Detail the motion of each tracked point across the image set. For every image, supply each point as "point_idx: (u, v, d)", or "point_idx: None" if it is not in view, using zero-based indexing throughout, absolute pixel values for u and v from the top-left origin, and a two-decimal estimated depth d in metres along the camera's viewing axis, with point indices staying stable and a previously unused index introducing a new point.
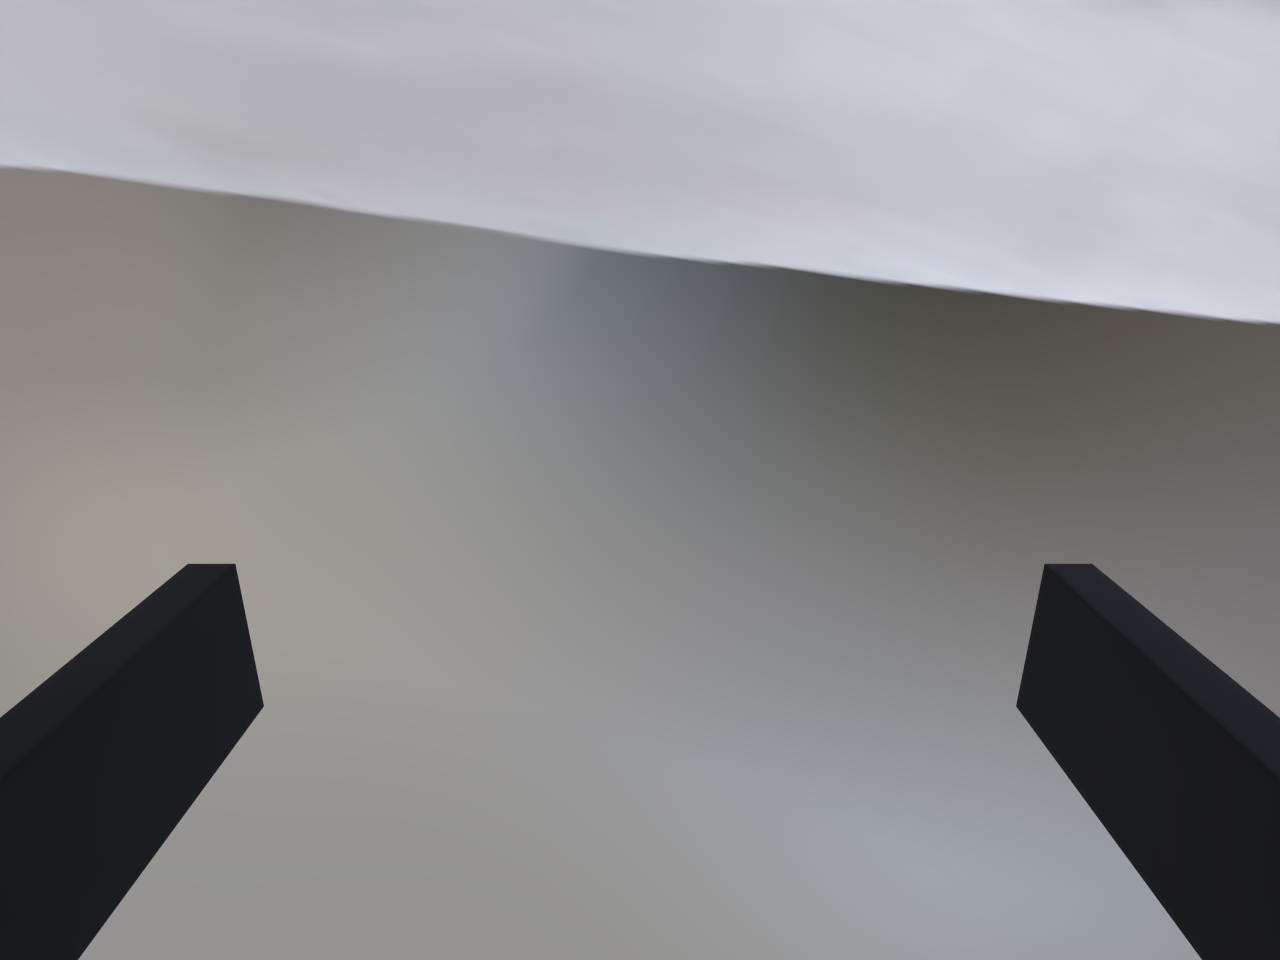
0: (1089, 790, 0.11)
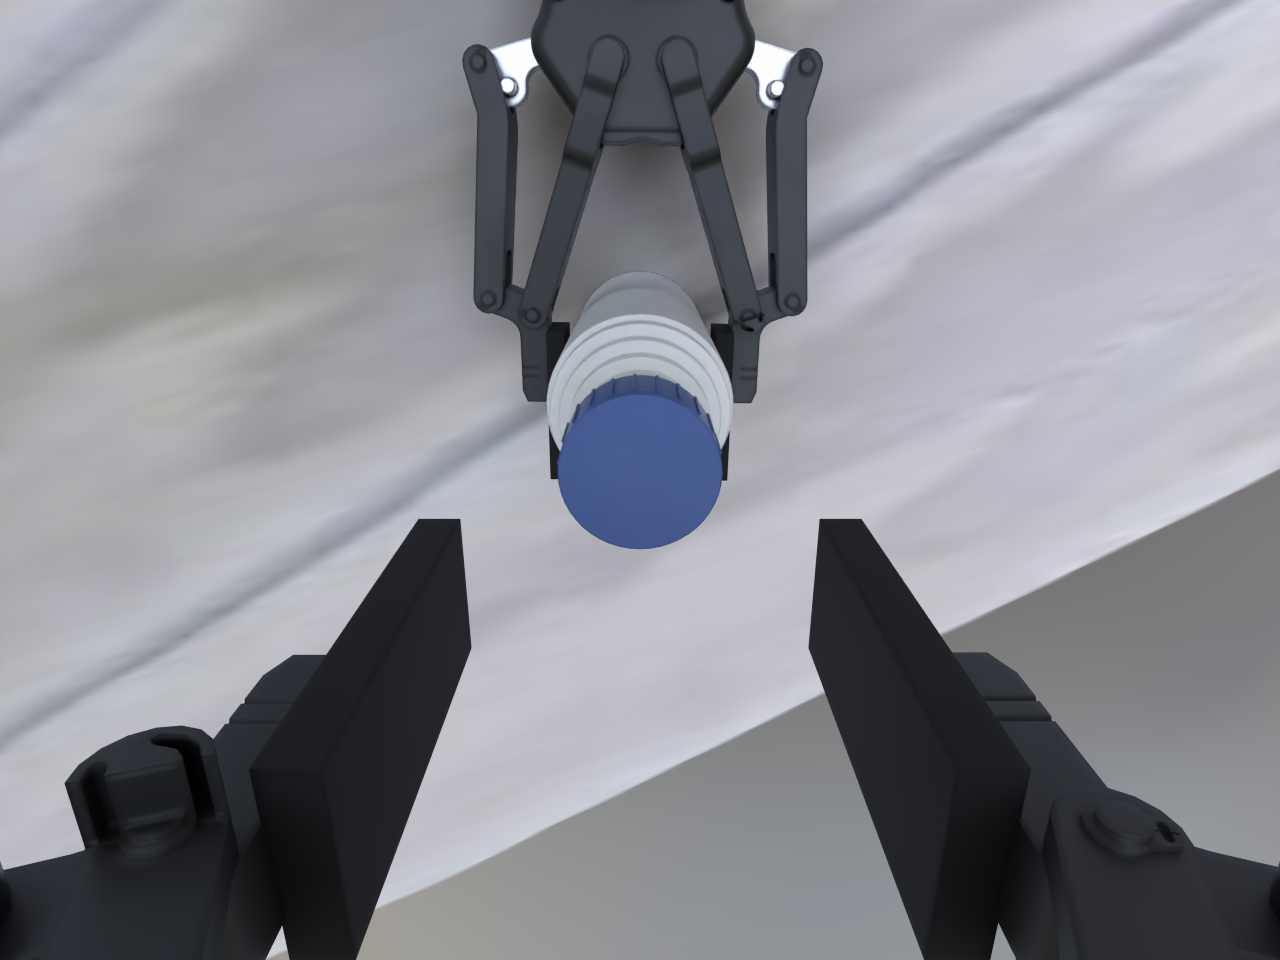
0: (836, 711, 0.13)
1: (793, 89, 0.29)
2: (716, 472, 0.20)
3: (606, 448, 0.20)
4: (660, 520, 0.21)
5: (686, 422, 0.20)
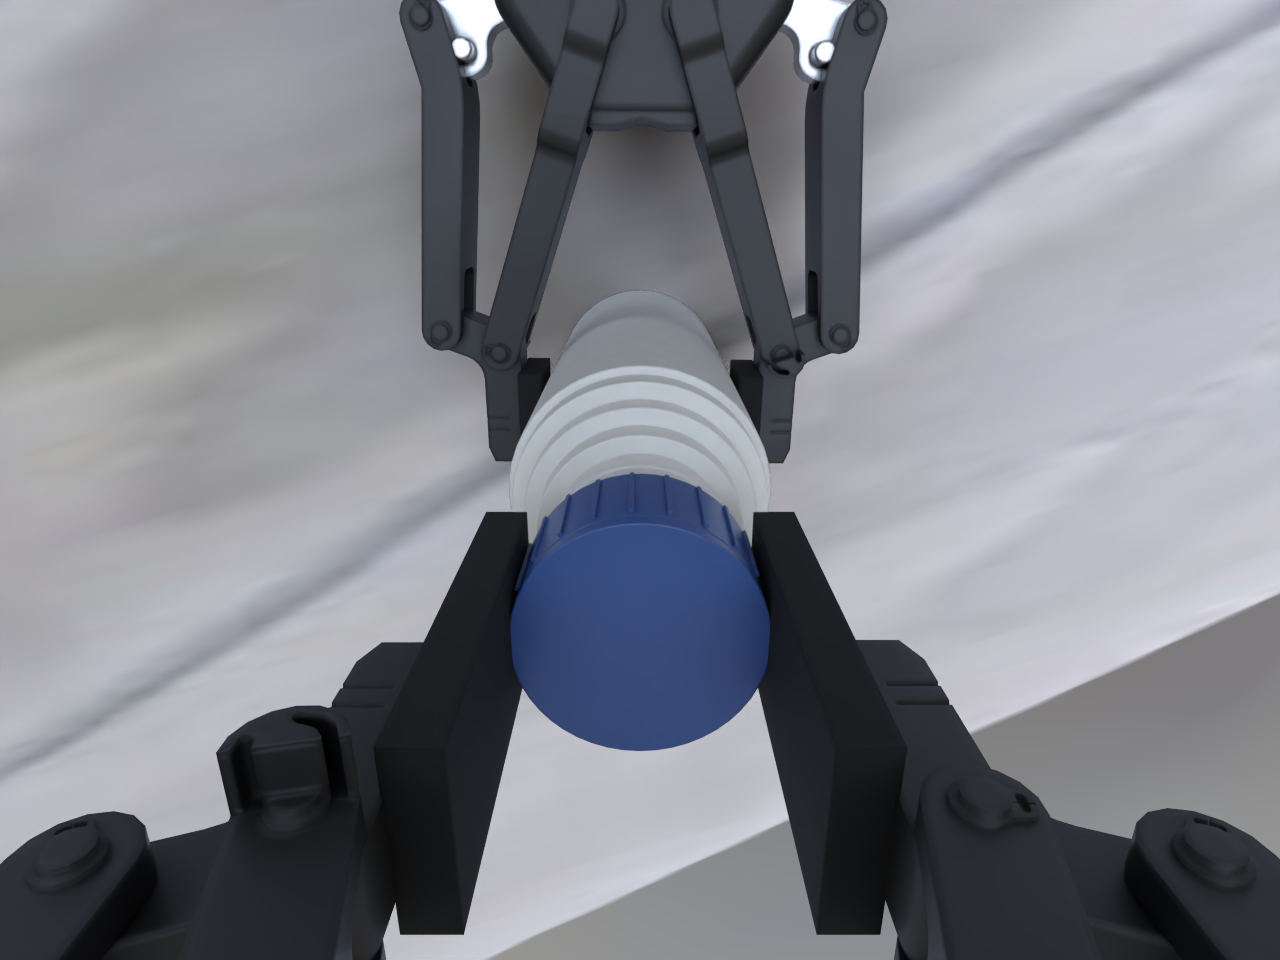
0: (763, 698, 0.13)
1: (846, 53, 0.22)
2: (762, 640, 0.13)
3: (586, 605, 0.12)
4: (672, 710, 0.13)
5: (715, 566, 0.12)
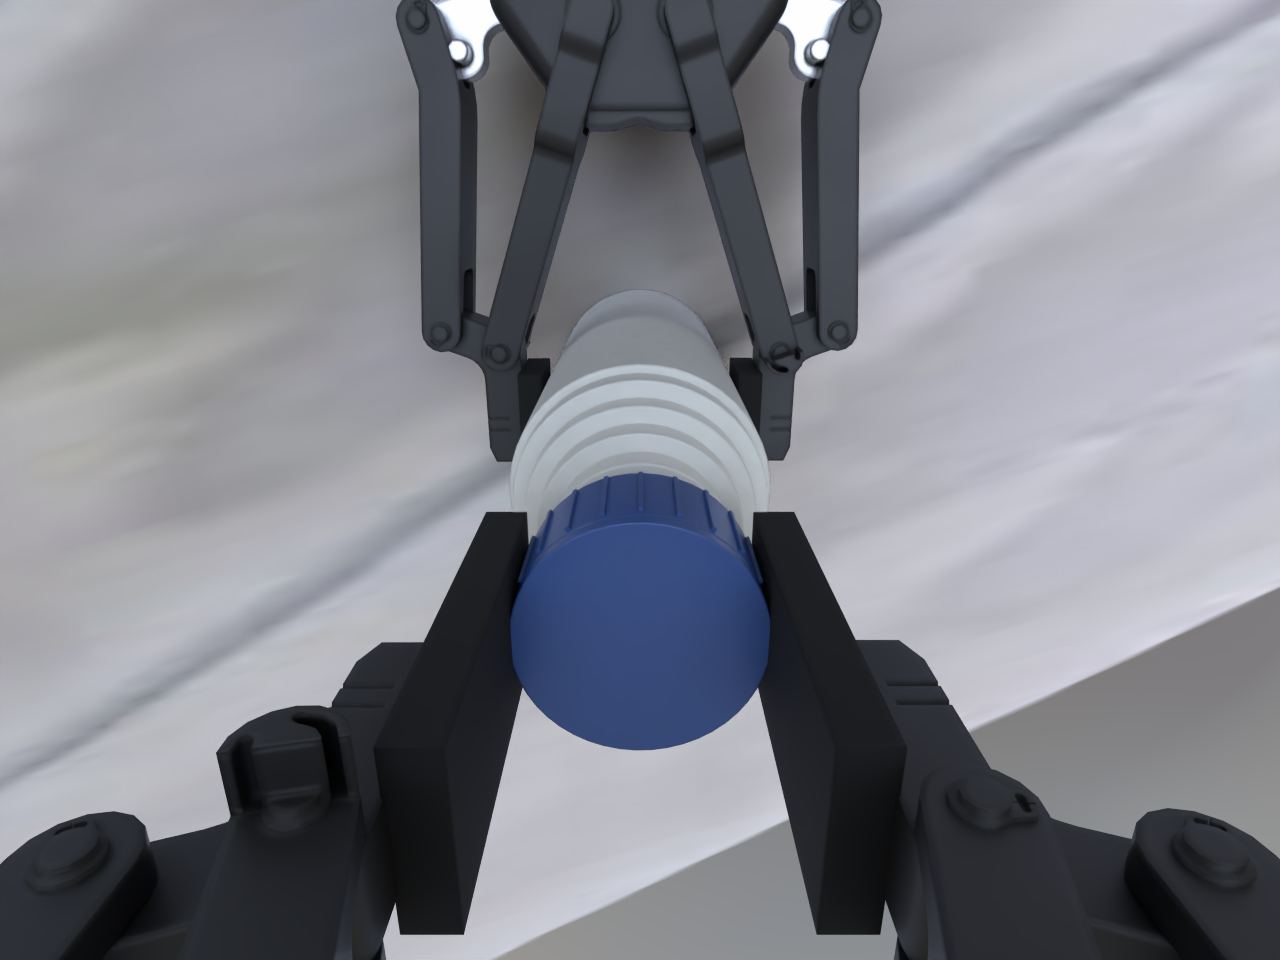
0: (763, 698, 0.13)
1: (841, 50, 0.22)
2: (590, 540, 0.12)
3: (618, 698, 0.13)
4: (704, 590, 0.12)
5: (531, 610, 0.12)
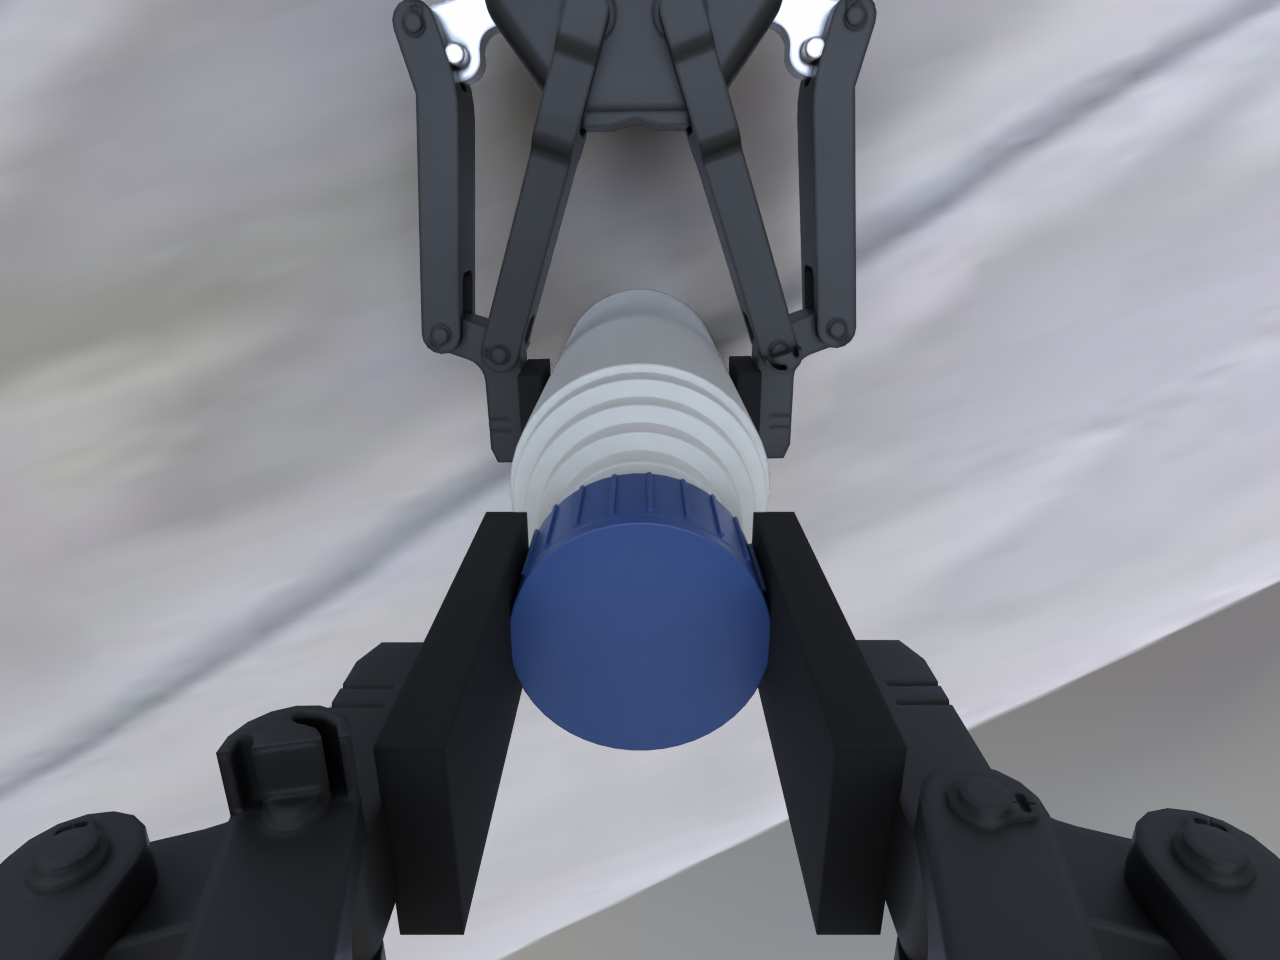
0: (763, 699, 0.13)
1: (837, 48, 0.22)
2: (554, 713, 0.13)
3: (709, 642, 0.13)
4: (561, 610, 0.12)
5: (642, 737, 0.13)
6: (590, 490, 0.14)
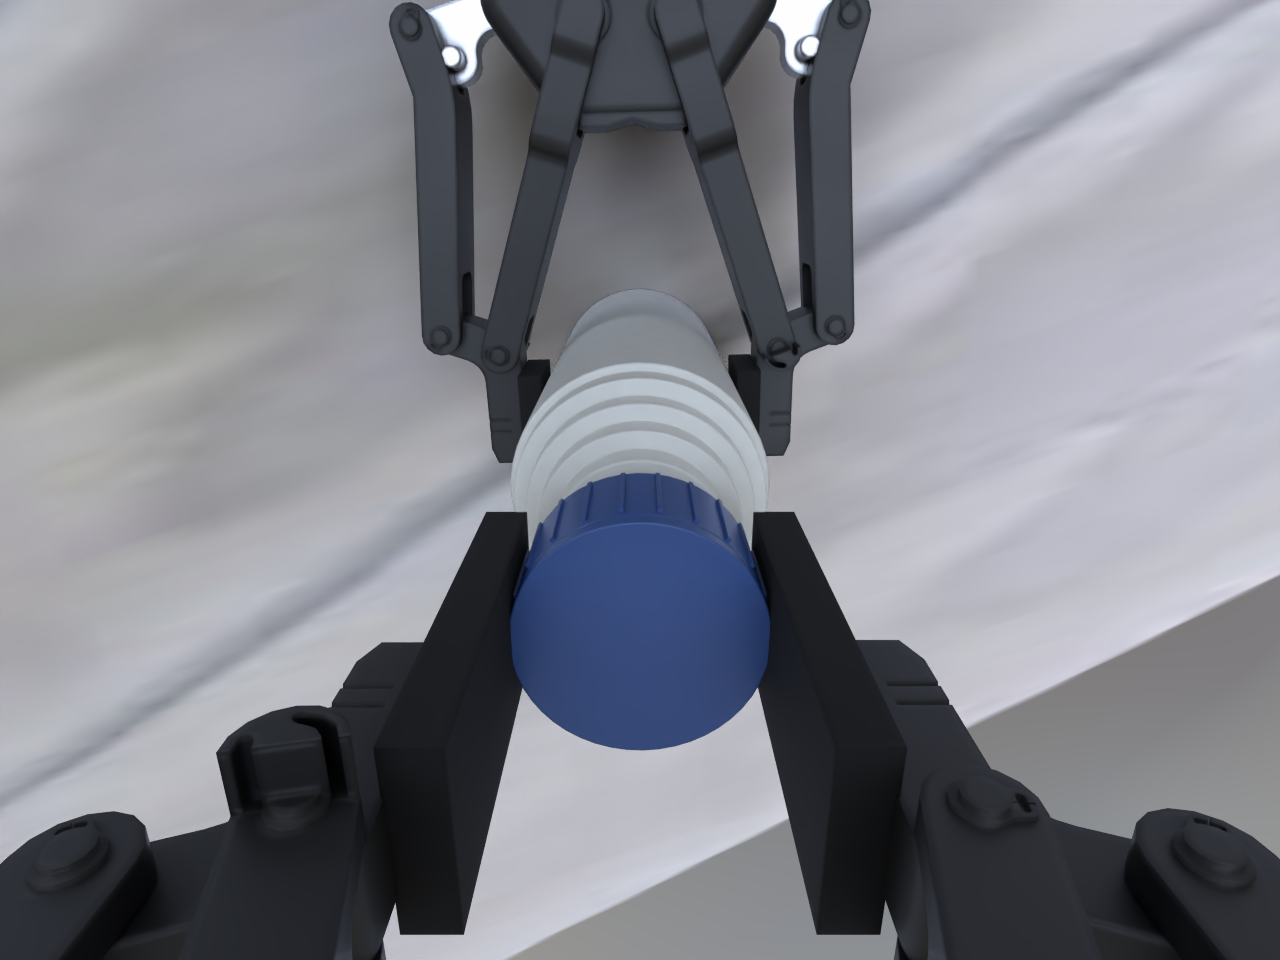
0: (763, 698, 0.13)
1: (831, 46, 0.22)
2: (747, 689, 0.13)
3: (613, 586, 0.12)
4: (632, 714, 0.13)
5: (747, 606, 0.12)
6: None
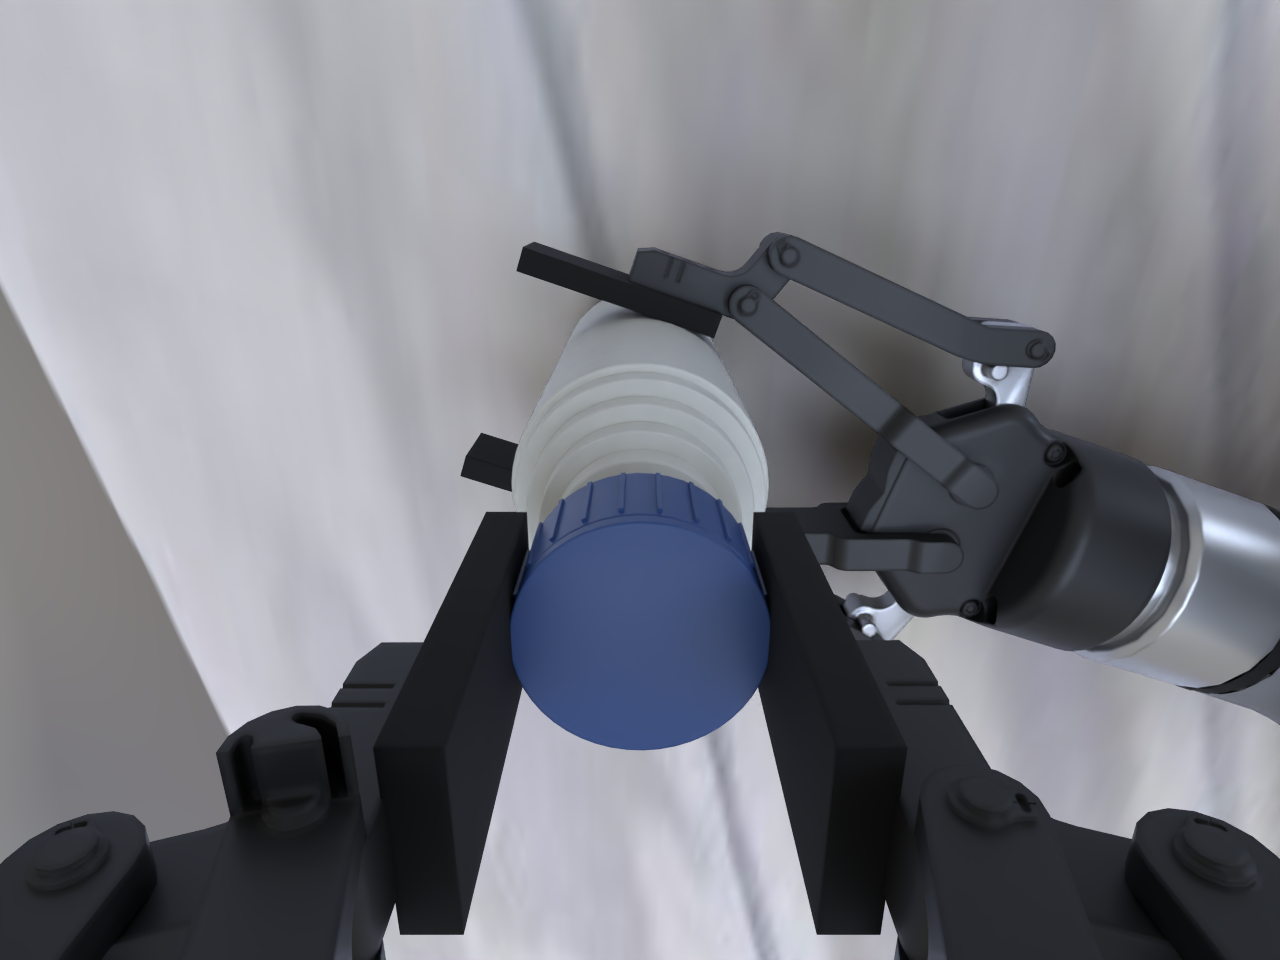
0: (763, 698, 0.13)
1: None
2: (747, 689, 0.13)
3: (614, 586, 0.12)
4: (632, 714, 0.13)
5: (747, 606, 0.12)
6: None
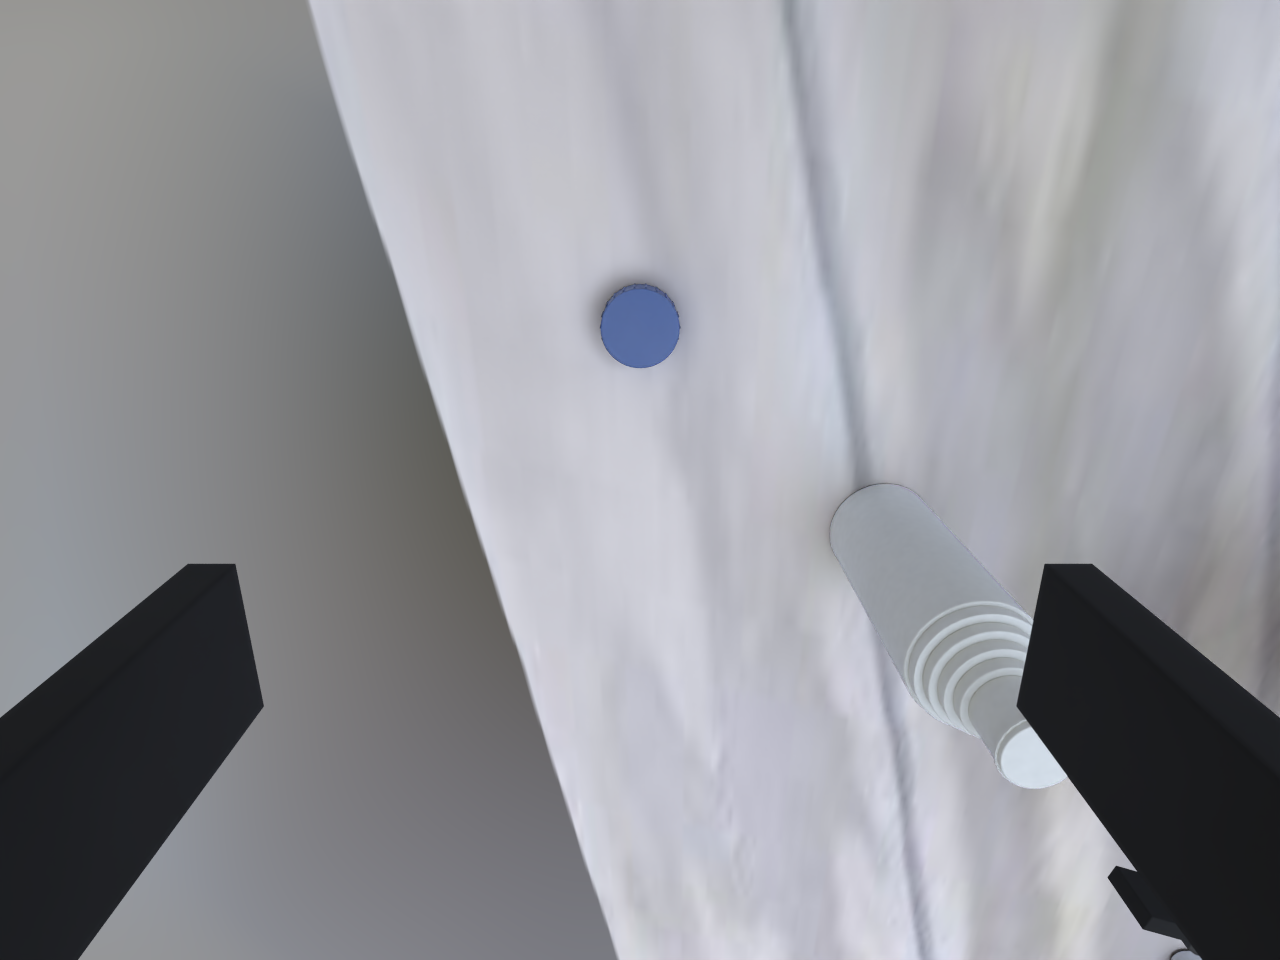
0: (1089, 790, 0.11)
1: None
2: (672, 345, 0.42)
3: (632, 309, 0.42)
4: (637, 354, 0.43)
5: (671, 316, 0.42)
6: None
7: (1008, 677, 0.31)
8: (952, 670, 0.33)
